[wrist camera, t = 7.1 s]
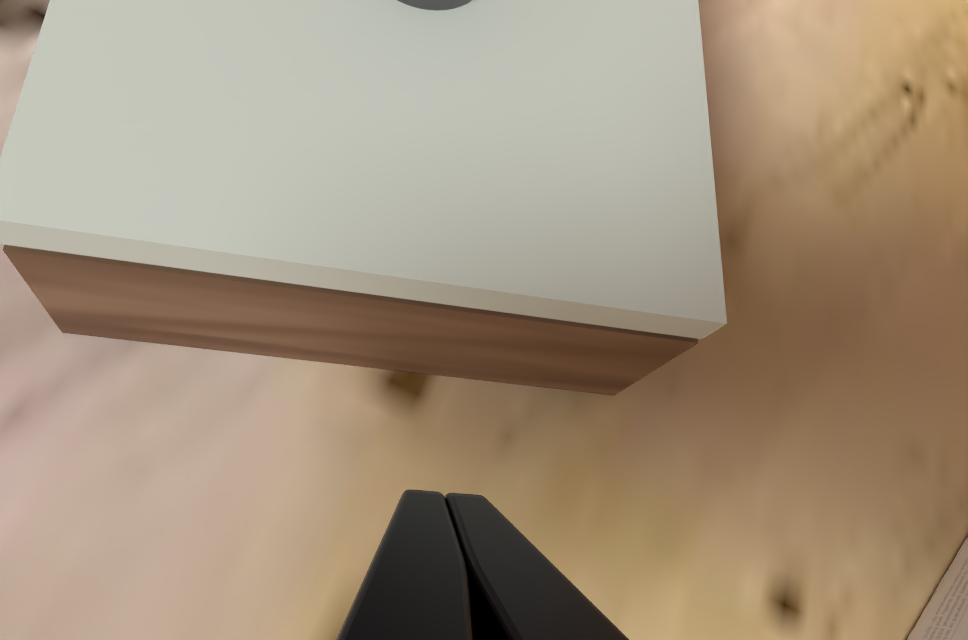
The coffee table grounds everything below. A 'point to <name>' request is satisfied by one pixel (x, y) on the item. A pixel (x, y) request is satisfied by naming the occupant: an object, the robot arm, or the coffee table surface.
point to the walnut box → (335, 325)
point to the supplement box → (947, 605)
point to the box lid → (383, 150)
